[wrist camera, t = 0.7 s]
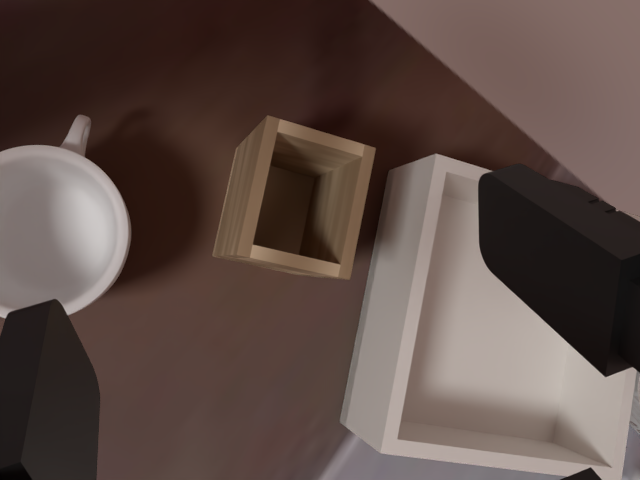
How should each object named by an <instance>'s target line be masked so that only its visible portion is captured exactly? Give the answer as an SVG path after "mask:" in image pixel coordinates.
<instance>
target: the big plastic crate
mask: <svg viewBox="0 0 640 480" xmlns="http://www.w3.org/2000/svg"><path fill="white" fill-rule="evenodd" d="M488 172H492V171H491V170H488V169H484V168H481V167H478V166H475V165H472V164H468V163H465V162H462V161H459V160H455V159H452V158H449V157H446V156H442V155H439V154H434V155H431V156H428V157H425V158H422V159H420V160H417V161H414V162H411V163H408V164H405V165H403V166H400V167H397V168H394V169H391V170H389V171H388V176H387V181H386V186H385V191H384V197H383V202H382V207H381V212H380V217H379V222H378V227H377V232H376V238H375V243H374V248H373V253H372V258H371V263H370V268H369V274H368V279H367V284H366V289H365V294H364V299H363V304H362V309H361V315H360V320H359V325H358V330H357V335H356V340H355V345H354V350H353V356H352V361H351V366H350V371H349V376H348V381H347V386H346V392H345V397H344V402H343V407H342V412H341V417H340V423H341V424H343V425H344V426H345V427H347V428H348V429H349V430H351V431H352V432H353V433H354V434H356V435H357V436H358V437H360V438H361V439H362V440H364V441H365V442H366V443H368V444H369V445H370V446H371V447H373V448H374V449H375V450H377V451H378V452H379V453H382V454H390V455H398V456H406V457H414V458H422V459H430V460H439V461H447V462H455V463H463V464H471V465H479V466H488V467H496V468H504V469H512V470H520V471H528V472H536V473H545V474H553V475H561V476H570V475H573V474H575V473H578V472H580V471H583V470H585V469H588V468H590V467H591V468H592V469H593V470H594V471H595V472H596V474H597V475H598V476H599V477H600V478H601V479H602V480H621V478H622V471H623V464H624V457H625V450H626V443H627V436H628V429H629V422H630V415H631V408H632V401H633V394H634V387H635V380H636V373H637V370H636V369H634V368H633V367H632V368H629V369H626V370H624V371H621V372H618V373H616V374H613V375H611V376H608V377H604V376H603V375H602V374H601V373H600V372H599V371H598V370H597V369H596V368H595V367H594V366H592V365H591V364H590V363H589V362H588V361H587V360H586V359H585V358H584V357H583V356H582V355H580V354H579V353H578V352H577V351H576V350H575V349H574V348H573V347H572V346H571V345H570V344H569V343H567V342H566V341H565V340H564V339H563V338H562V337H561V336H560V335H559V334H558V333H557V332H555V331H554V330H553V329H552V328H551V327H550V326H549V325H548V324H547V323H546V322H545V321H544V320H542V319H541V318H540V317H539V316H538V315H537V314H536V313H535V312H534V311H533V310H532V309H530V308H529V307H528V306H527V305H526V304H525V303H524V302H523V301H522V300H521V299H520V298H519V297H517V296H516V295H515V294H514V293H513V292H512V291H511V290H510V289H509V288H508V287H507V286H506V285H504V284H503V283H502V282H501V281H500V280H499V279H498V278H497V277H496V276H495V275H494V274H492V272H491V271H490V270H489V269H488V268H487V266H486V264H485V262H484V260H483V258H482V255H481V252H480V247H479V218H478V183H479V179H480V177H481V176H482V175H483V174H485V173H488ZM616 211H620V210H617V209H616ZM622 212H623V211H622ZM624 213H625V214H627V215H629V216H631V217H633V218H634V219H636V220H638V221H640V217H639V216H636V215H633V214H630V213H626V212H624Z"/></svg>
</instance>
